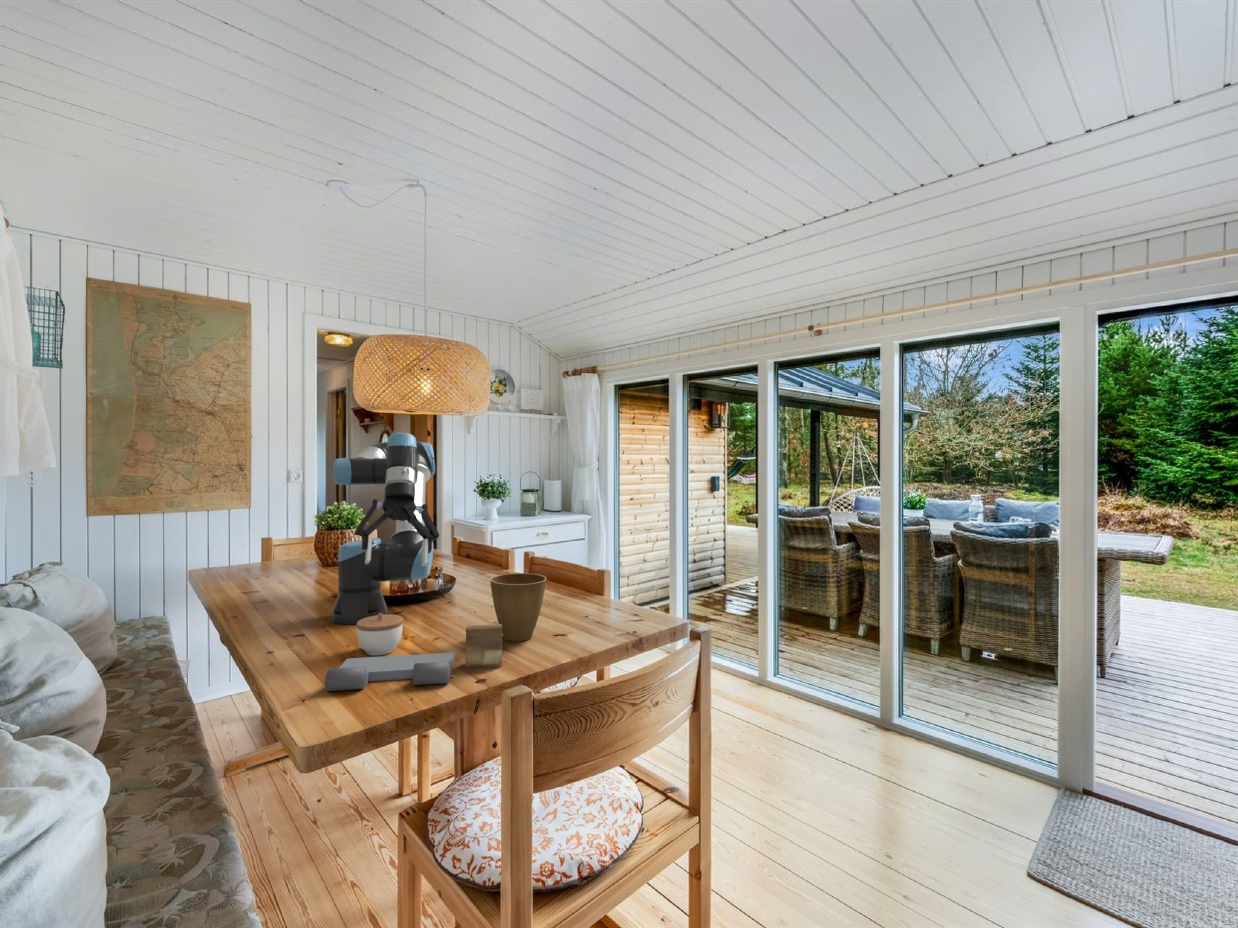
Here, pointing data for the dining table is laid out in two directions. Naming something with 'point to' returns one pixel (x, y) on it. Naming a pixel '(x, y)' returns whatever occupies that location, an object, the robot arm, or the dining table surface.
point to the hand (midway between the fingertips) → (396, 563)
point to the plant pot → (518, 603)
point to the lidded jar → (379, 633)
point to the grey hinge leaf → (391, 670)
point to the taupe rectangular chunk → (484, 646)
